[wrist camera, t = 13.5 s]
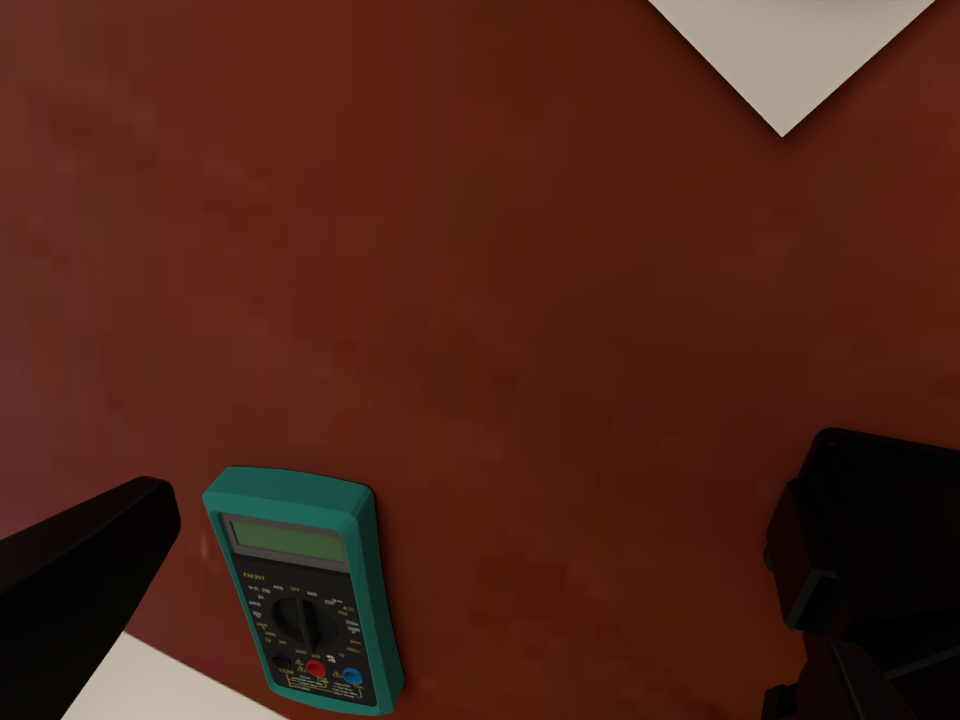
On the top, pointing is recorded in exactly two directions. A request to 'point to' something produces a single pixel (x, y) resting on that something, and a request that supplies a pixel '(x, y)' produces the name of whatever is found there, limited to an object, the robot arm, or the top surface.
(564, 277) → the top surface
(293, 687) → the digital multimeter
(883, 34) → the board
